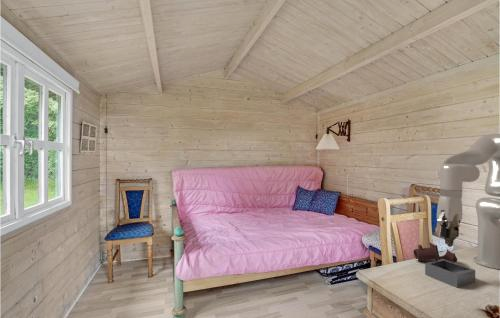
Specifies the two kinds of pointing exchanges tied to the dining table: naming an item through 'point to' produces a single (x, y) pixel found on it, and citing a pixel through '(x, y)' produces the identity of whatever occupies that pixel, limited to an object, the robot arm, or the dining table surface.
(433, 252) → the dark brown lumpy piece
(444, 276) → the frame
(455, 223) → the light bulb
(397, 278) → the dining table surface
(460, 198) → the robot arm
